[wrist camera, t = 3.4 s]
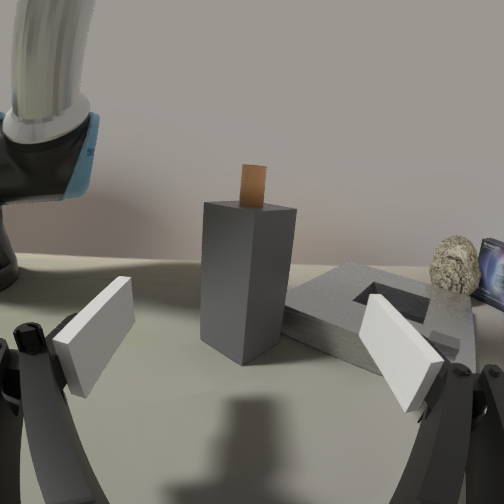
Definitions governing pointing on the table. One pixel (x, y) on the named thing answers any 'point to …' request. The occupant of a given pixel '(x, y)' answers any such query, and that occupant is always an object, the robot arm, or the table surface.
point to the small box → (491, 273)
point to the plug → (245, 270)
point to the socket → (354, 306)
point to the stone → (455, 266)
